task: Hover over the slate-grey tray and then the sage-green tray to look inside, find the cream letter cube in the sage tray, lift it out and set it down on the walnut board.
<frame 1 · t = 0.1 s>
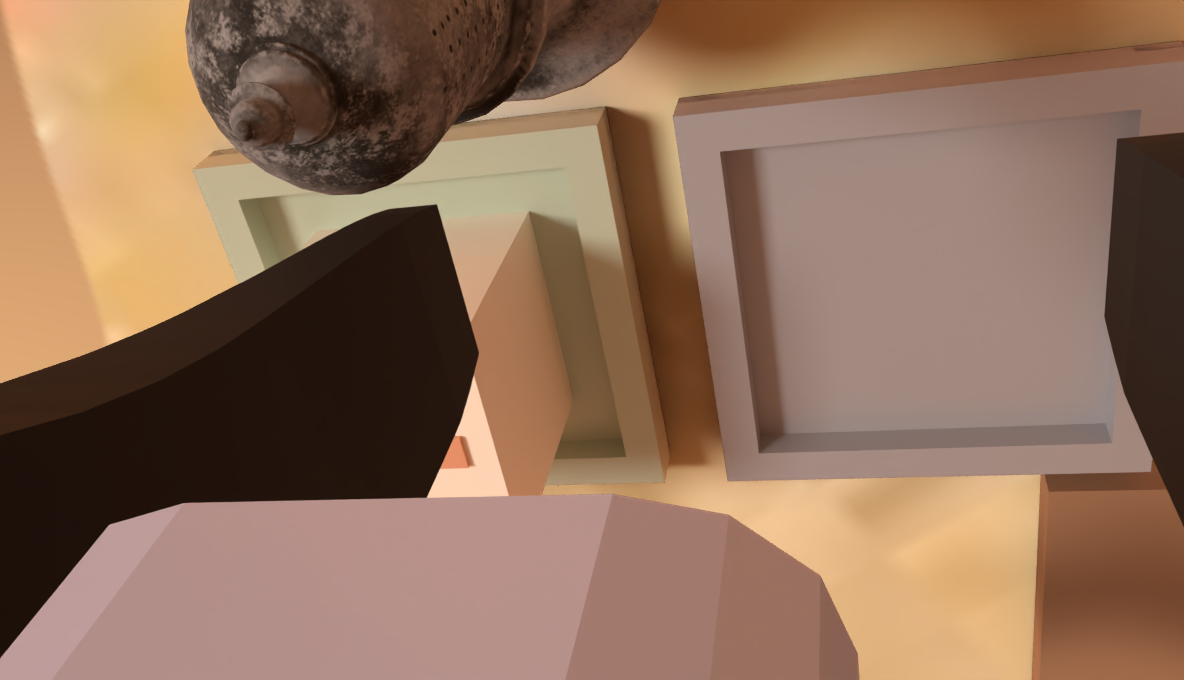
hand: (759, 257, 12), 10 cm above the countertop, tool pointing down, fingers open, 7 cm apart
letter cube: (449, 317, 25), resting on tray sage
tray sage: (452, 310, 25), on the countertop
tray grey: (921, 279, 22), on the countertop
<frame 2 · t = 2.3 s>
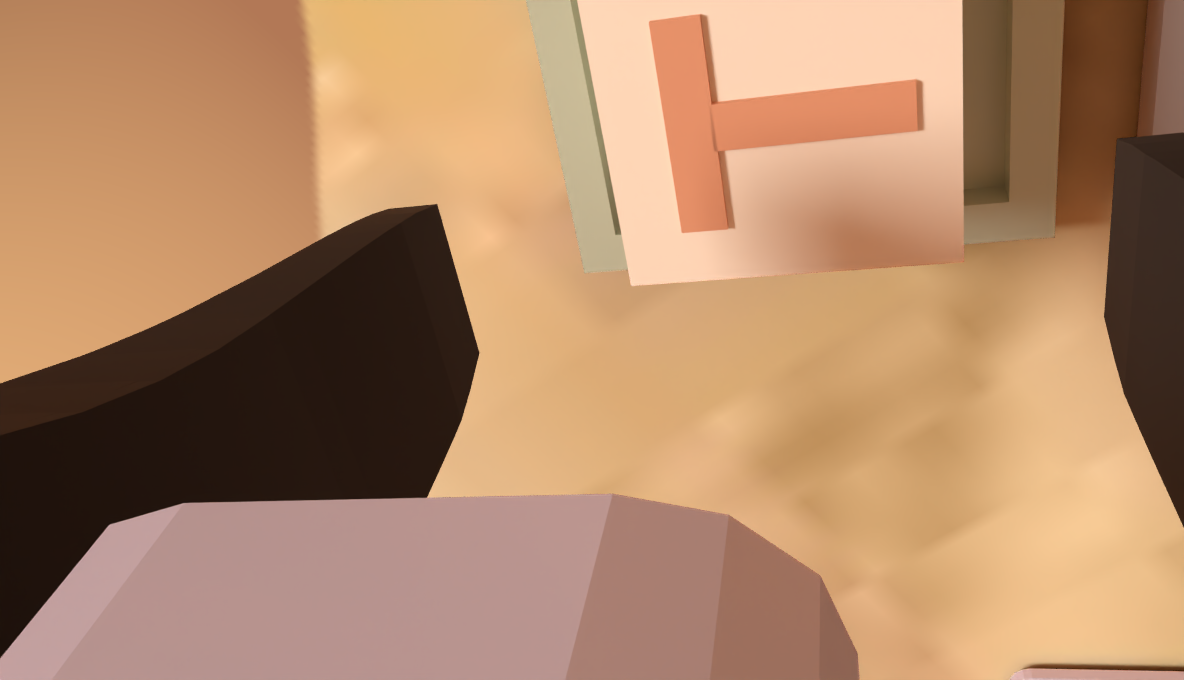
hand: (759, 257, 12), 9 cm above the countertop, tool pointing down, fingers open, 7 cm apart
letter cube: (787, 16, 19), resting on tray sage
tray sage: (787, 11, 19), on the countertop
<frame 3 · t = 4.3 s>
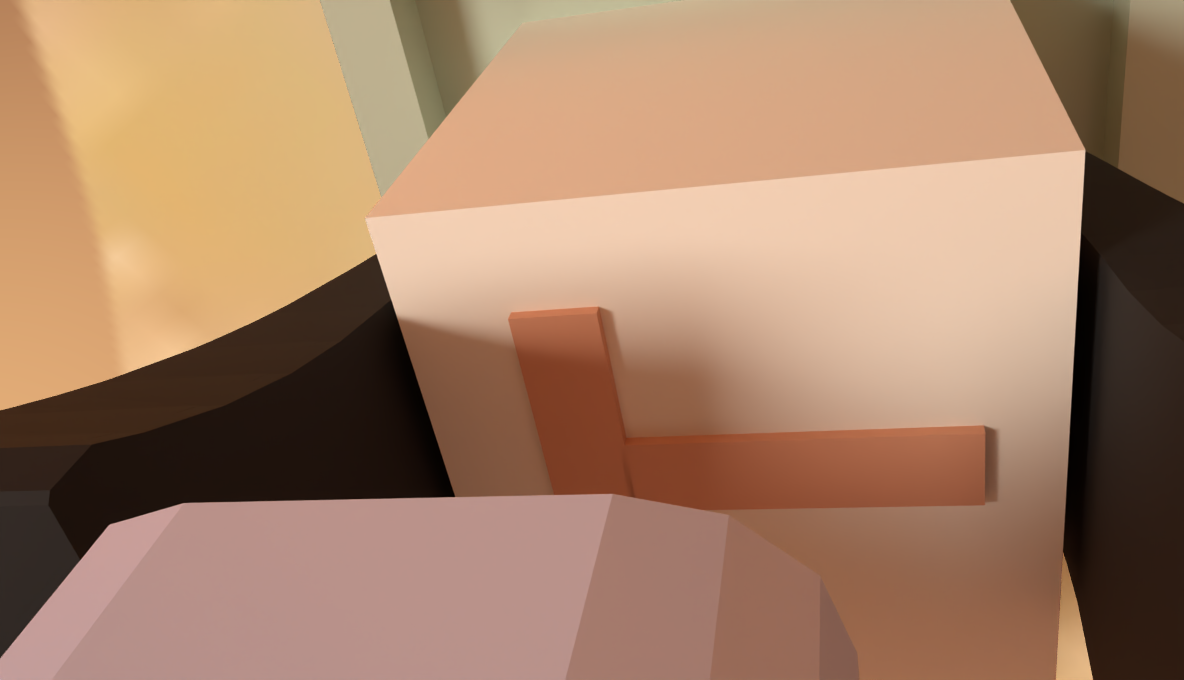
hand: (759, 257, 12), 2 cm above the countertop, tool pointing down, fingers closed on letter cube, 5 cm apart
letter cube: (766, 202, 13), resting on tray sage, touching gripper
tray sage: (767, 191, 13), on the countertop
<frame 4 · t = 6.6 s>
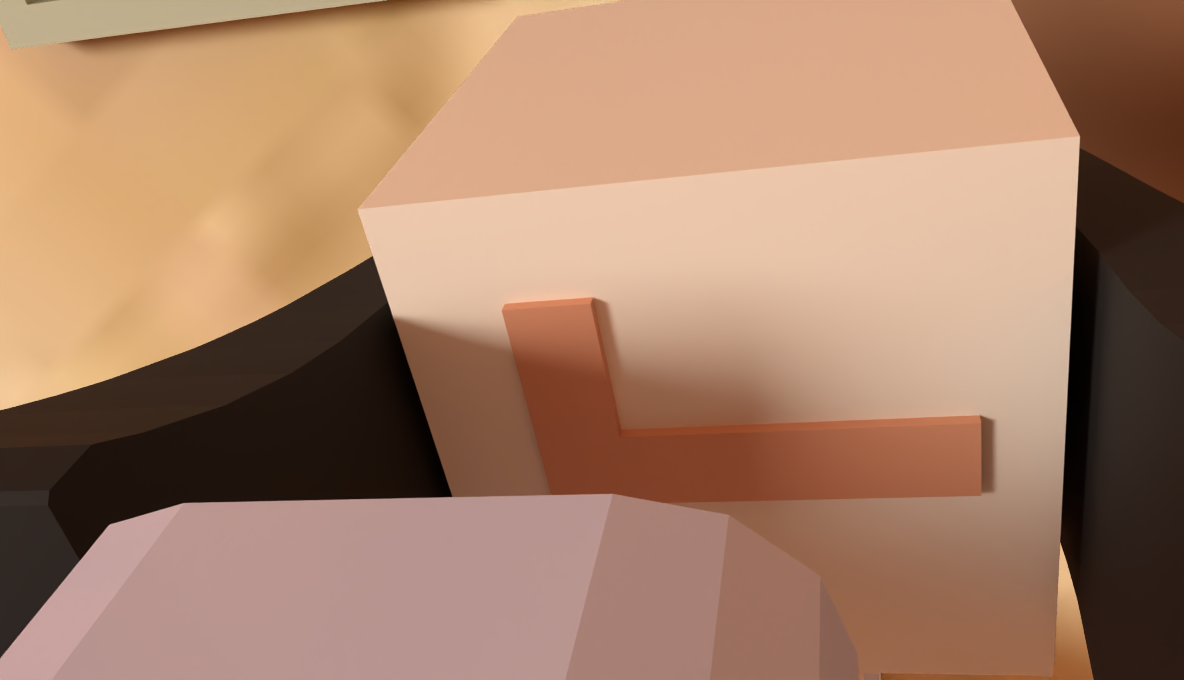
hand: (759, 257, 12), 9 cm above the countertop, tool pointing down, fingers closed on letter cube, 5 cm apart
letter cube: (762, 195, 13), point 8 cm above the countertop, touching gripper
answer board: (1143, 145, 19), on the countertop
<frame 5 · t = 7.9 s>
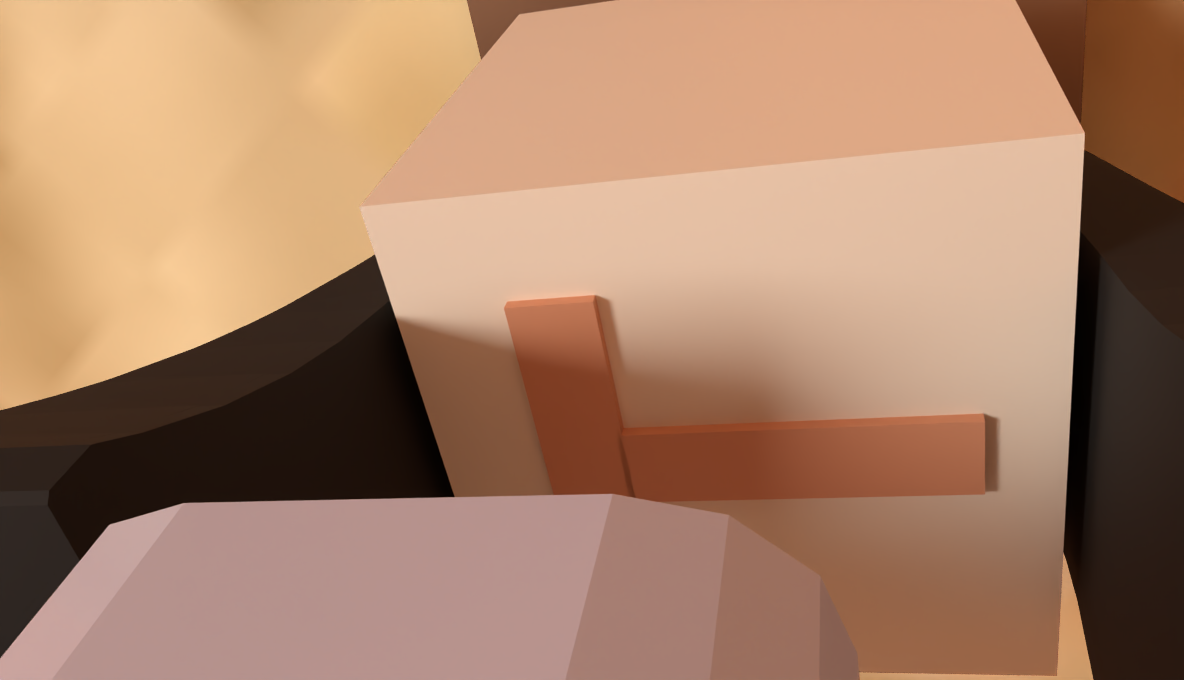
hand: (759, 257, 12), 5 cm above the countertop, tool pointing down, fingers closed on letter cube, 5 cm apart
letter cube: (764, 194, 13), point 4 cm above the countertop, touching gripper
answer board: (776, 98, 16), on the countertop
when the fingers open (4 cm above the countertop, at t = 8.7 s): letter cube drops 1 cm, resting on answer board.
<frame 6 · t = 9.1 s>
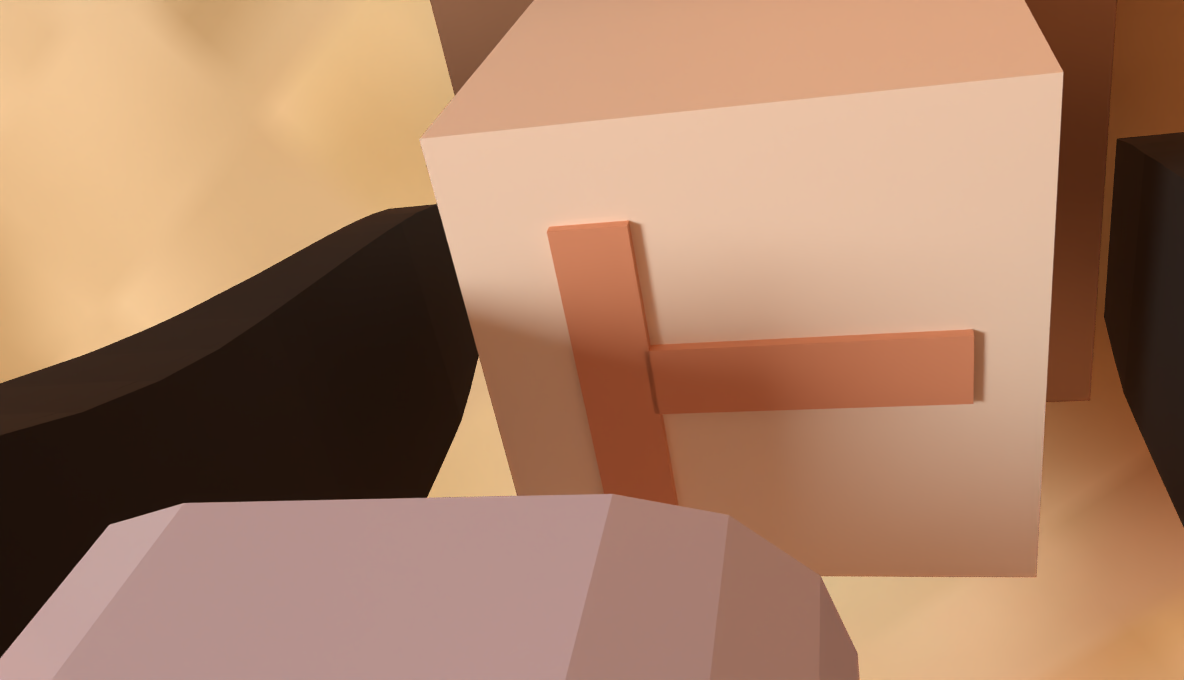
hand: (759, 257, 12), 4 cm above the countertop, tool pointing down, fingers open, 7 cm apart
letter cube: (773, 153, 14), point 1 cm above the countertop, touching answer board
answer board: (774, 132, 15), on the countertop
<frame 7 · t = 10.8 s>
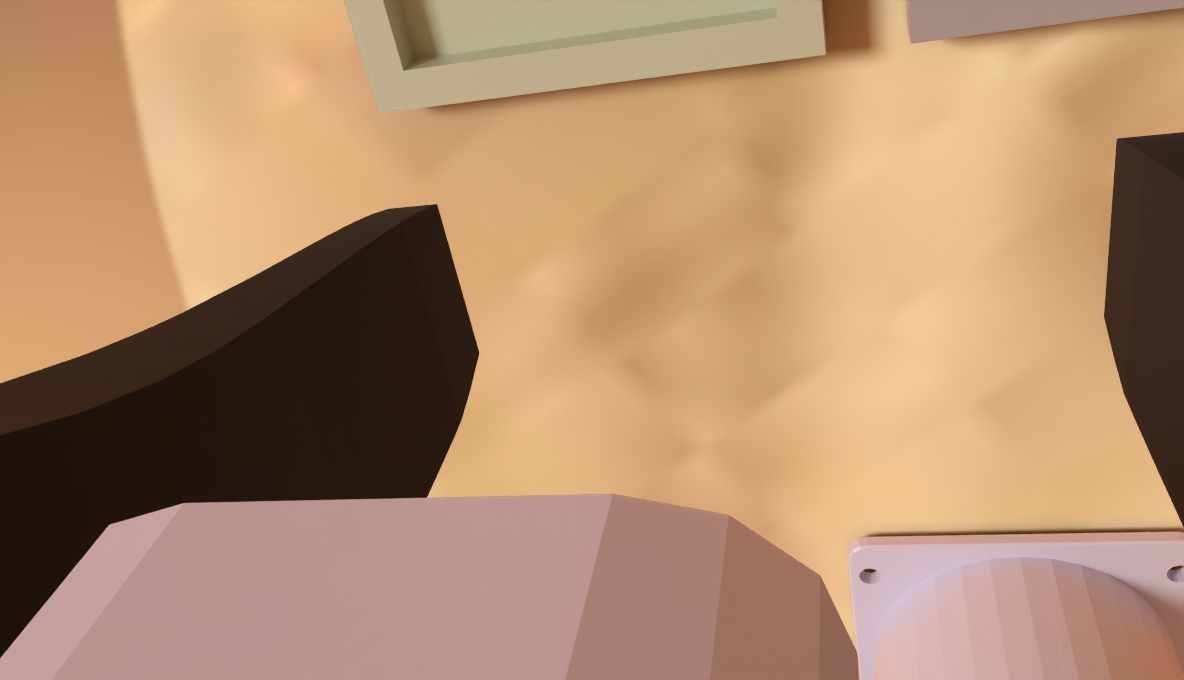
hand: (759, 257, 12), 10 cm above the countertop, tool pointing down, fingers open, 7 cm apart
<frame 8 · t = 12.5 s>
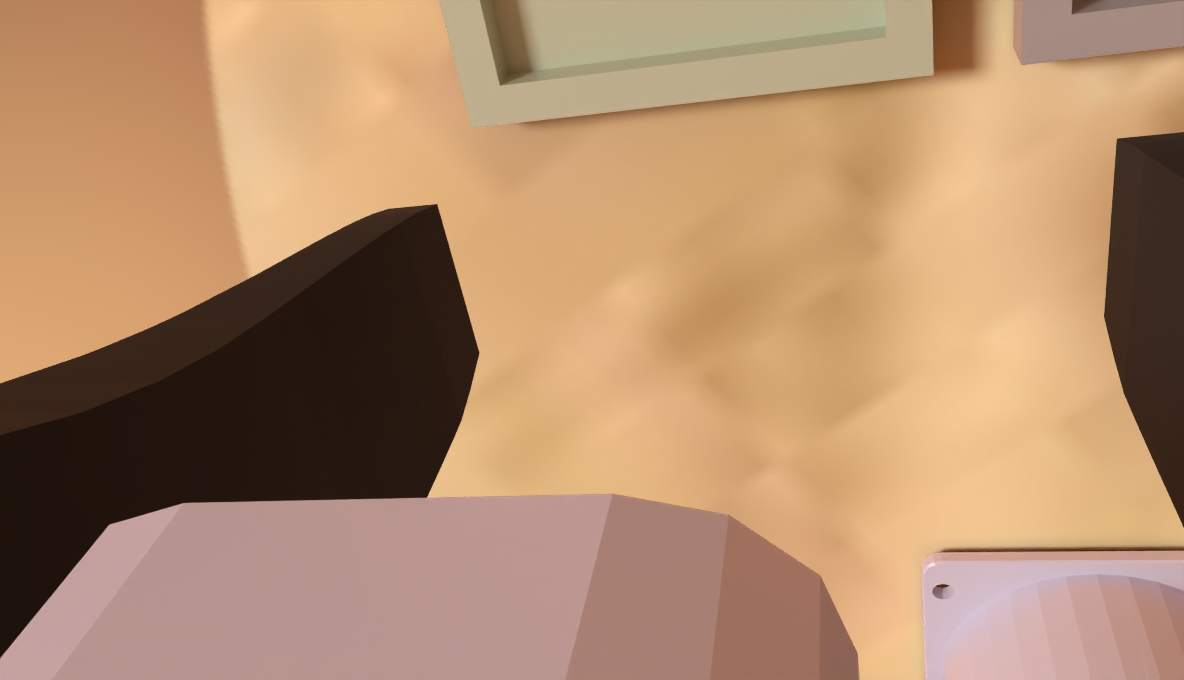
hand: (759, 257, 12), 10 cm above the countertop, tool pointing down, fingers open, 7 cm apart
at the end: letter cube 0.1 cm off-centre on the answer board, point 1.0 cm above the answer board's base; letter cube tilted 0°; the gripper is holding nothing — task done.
